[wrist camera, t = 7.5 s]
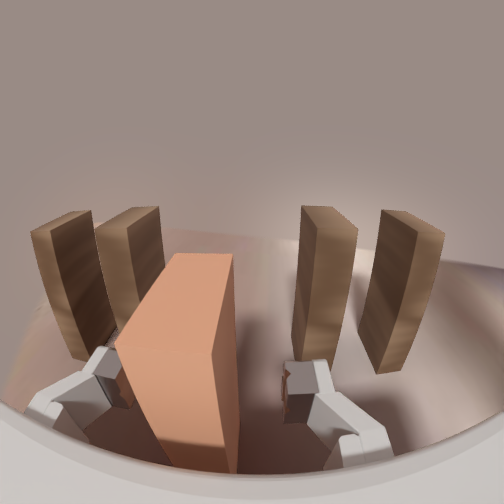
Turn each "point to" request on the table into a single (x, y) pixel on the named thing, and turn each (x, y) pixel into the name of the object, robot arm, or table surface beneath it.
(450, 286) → the table surface
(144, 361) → the domino
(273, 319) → the table surface
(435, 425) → the table surface
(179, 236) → the table surface
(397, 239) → the domino
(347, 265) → the domino
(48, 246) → the domino
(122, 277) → the domino
